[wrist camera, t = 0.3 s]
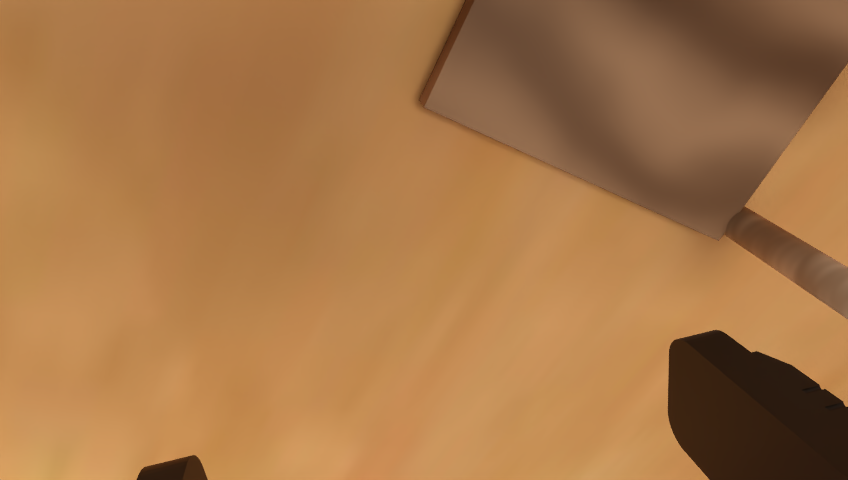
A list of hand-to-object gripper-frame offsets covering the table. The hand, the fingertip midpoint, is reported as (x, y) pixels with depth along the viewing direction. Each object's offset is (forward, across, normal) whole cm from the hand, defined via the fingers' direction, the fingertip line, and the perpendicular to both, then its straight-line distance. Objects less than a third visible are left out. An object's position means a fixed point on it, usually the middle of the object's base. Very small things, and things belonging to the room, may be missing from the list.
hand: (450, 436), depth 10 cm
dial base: (+21, -19, -5) cm, 28 cm away
